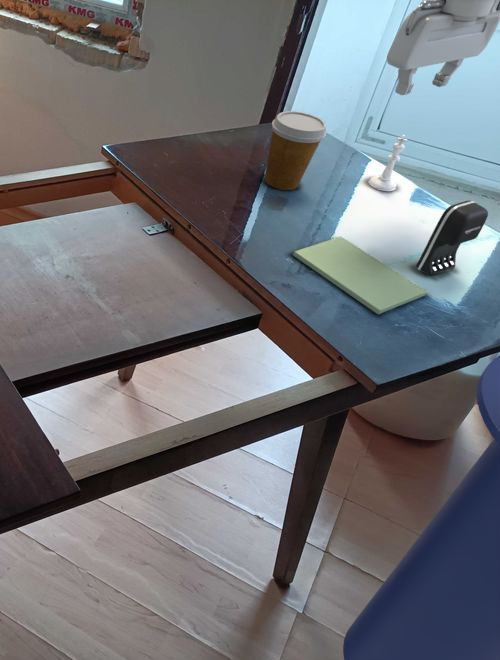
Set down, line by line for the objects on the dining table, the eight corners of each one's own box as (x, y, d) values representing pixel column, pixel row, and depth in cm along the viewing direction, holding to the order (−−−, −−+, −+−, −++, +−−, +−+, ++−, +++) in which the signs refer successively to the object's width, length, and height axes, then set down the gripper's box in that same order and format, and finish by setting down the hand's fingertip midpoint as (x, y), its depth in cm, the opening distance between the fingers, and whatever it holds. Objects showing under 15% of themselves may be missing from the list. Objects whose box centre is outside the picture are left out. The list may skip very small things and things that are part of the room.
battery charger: (432, 281, 108) (467, 217, 100) (412, 268, 110) (445, 205, 102) (460, 271, 110) (497, 208, 103) (440, 258, 113) (474, 196, 105)
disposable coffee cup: (284, 167, 135) (304, 107, 127) (317, 190, 128) (340, 128, 120) (245, 174, 131) (263, 113, 124) (277, 197, 125) (298, 135, 117)
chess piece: (395, 193, 129) (418, 143, 123) (368, 187, 130) (389, 137, 124) (395, 182, 133) (417, 133, 126) (368, 176, 134) (389, 127, 127)
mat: (425, 295, 105) (427, 291, 104) (377, 314, 100) (380, 310, 100) (339, 240, 115) (340, 236, 115) (292, 255, 111) (294, 251, 110)
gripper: (436, 8, 95) (395, 106, 104) (520, -4, 103) (475, 87, 112) (398, -5, 99) (361, 91, 108) (482, -15, 107) (441, 74, 116)
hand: (420, 89), depth 110 cm, fingers open, 8 cm apart
